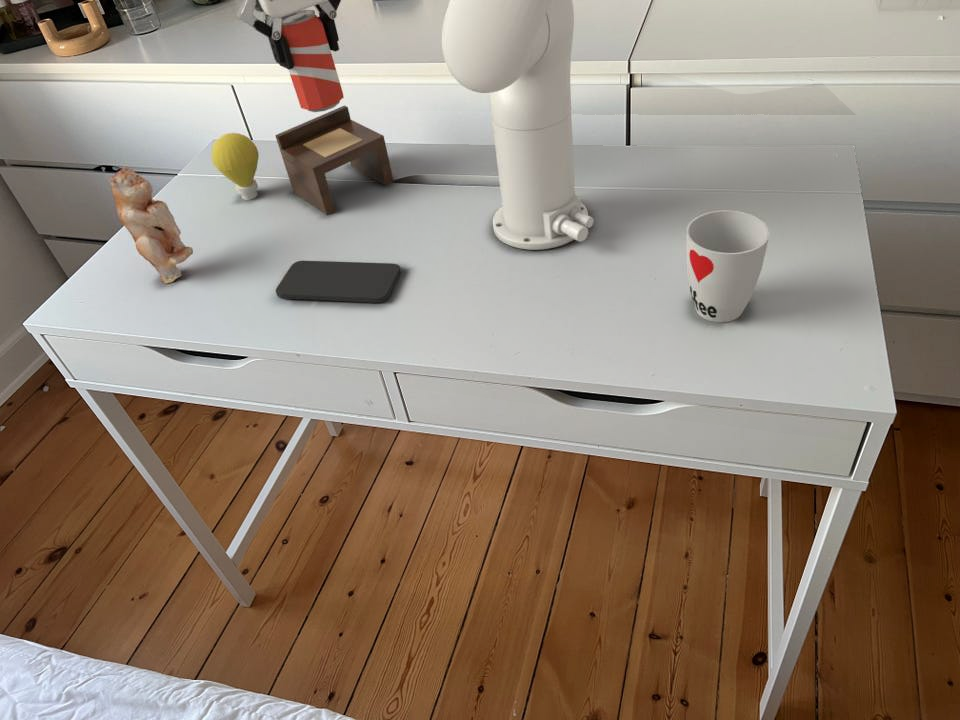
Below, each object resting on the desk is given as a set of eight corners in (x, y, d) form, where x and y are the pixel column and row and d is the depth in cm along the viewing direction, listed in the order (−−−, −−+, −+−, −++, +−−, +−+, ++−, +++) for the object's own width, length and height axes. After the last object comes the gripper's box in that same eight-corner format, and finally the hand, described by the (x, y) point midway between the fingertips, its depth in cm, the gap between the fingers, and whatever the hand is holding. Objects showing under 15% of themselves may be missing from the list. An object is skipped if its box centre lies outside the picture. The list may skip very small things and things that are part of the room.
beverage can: (353, 95, 109) (327, 6, 101) (329, 115, 105) (301, 24, 97) (318, 95, 111) (291, 8, 104) (293, 114, 107) (263, 26, 100)
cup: (673, 291, 88) (677, 216, 82) (743, 281, 88) (753, 205, 82) (693, 336, 82) (699, 259, 76) (769, 325, 82) (781, 247, 76)
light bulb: (280, 189, 119) (260, 128, 113) (249, 210, 115) (226, 149, 109) (250, 181, 122) (228, 122, 116) (219, 202, 118) (195, 142, 112)
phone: (384, 299, 93) (272, 294, 96) (386, 304, 93) (273, 299, 97) (402, 263, 98) (294, 259, 102) (403, 268, 99) (296, 264, 102)
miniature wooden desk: (394, 181, 116) (380, 122, 110) (326, 215, 111) (309, 155, 105) (358, 162, 123) (344, 105, 116) (293, 193, 118) (274, 135, 111)
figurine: (189, 287, 102) (142, 186, 92) (139, 286, 104) (87, 187, 94) (210, 260, 106) (167, 161, 96) (161, 259, 108) (115, 162, 98)
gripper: (216, -70, 86) (265, 87, 98) (346, -109, 93) (377, 42, 105) (189, -77, 90) (239, 73, 102) (315, -113, 98) (348, 31, 109)
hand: (309, 56), depth 103 cm, fingers closed on beverage can, 6 cm apart
